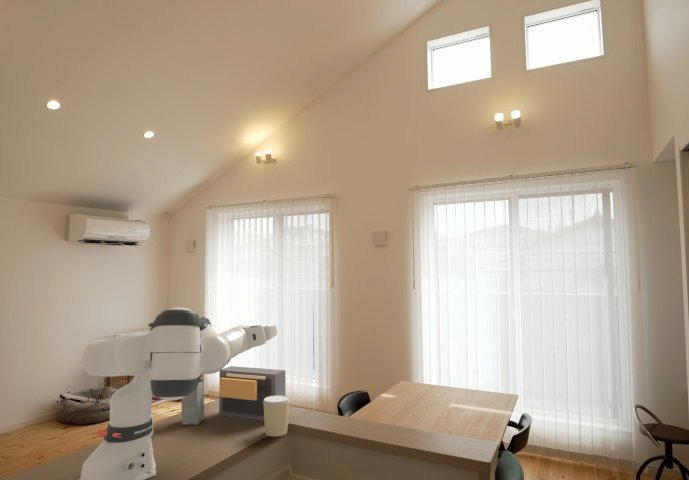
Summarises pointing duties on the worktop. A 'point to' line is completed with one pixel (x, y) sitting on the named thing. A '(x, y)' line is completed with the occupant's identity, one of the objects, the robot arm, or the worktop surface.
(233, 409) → the grey rectangular box
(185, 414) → the skincare box
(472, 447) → the worktop surface
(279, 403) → the coffee cup
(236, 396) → the panel
